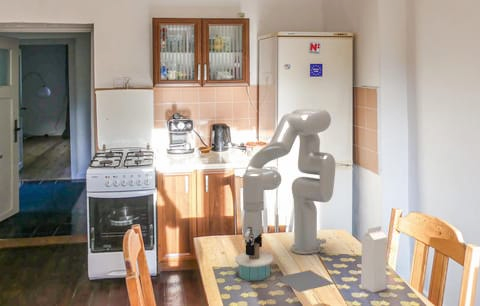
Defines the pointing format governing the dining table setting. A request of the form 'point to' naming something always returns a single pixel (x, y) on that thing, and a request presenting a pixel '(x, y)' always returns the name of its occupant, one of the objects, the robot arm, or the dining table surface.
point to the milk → (374, 260)
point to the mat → (304, 280)
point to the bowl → (254, 272)
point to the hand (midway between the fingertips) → (254, 250)
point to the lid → (254, 258)
